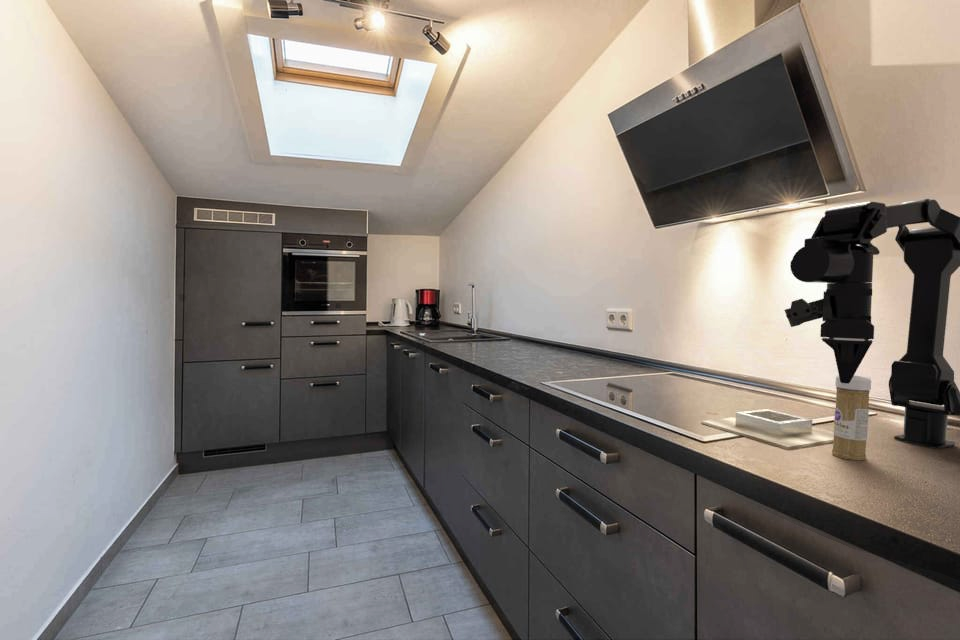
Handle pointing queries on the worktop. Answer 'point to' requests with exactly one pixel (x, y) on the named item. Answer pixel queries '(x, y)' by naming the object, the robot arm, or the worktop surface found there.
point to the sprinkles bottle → (851, 418)
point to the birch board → (784, 442)
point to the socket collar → (774, 422)
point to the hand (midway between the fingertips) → (845, 379)
